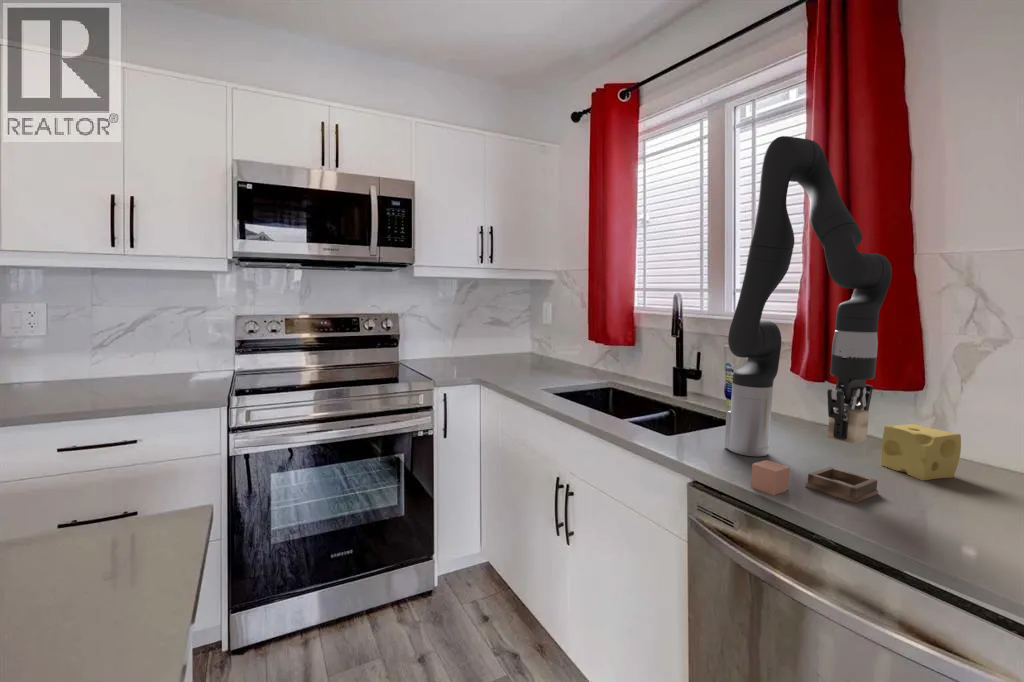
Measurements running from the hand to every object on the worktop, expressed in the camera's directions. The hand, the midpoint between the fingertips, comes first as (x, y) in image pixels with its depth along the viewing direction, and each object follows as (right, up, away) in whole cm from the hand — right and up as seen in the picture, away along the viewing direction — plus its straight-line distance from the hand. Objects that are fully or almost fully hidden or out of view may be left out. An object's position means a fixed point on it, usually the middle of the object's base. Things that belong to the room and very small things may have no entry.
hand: (846, 436), depth 103 cm
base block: (0, 0, 0) cm, 0 cm away
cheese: (+25, -11, +14) cm, 31 cm away
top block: (-15, -11, +1) cm, 19 cm away
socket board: (0, -11, +1) cm, 11 cm away
